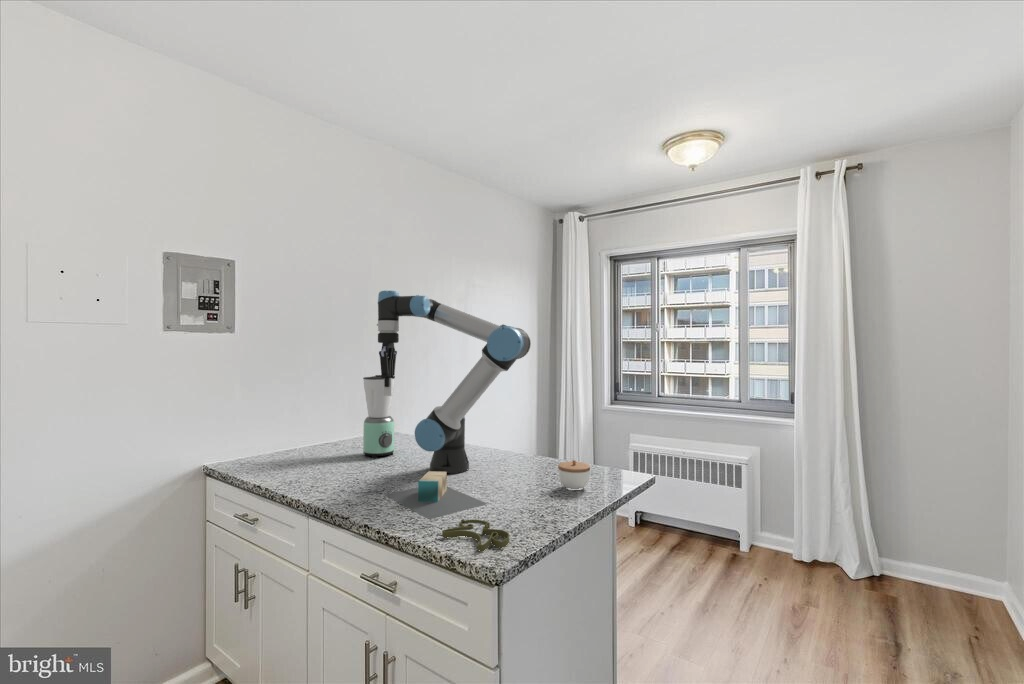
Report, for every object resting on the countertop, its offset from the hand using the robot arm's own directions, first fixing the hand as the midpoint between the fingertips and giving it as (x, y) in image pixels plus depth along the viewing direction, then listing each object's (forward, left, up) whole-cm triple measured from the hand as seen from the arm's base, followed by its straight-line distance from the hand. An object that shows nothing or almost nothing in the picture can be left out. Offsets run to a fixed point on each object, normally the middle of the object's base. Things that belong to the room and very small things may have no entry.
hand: (388, 395), depth 180 cm
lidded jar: (-41, +56, -30) cm, 76 cm away
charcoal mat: (+3, +39, -29) cm, 49 cm away
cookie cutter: (+9, +69, -30) cm, 76 cm away
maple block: (+6, +40, -25) cm, 48 cm away
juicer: (-11, -33, -30) cm, 46 cm away
